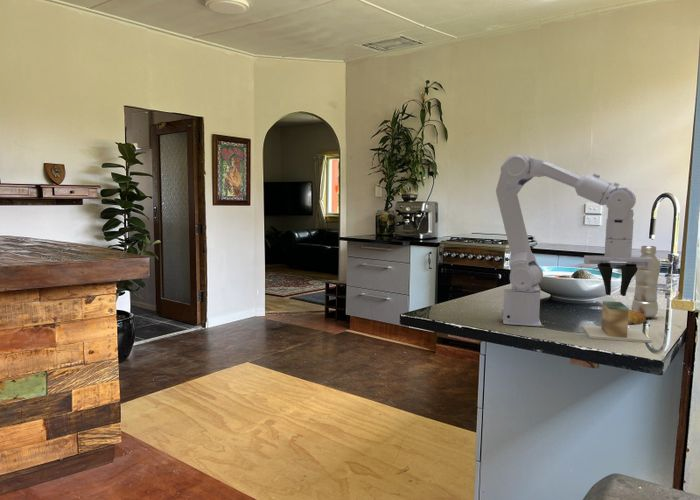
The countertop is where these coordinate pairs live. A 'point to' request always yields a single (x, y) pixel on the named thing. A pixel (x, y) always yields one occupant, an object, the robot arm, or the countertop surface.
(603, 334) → the mat
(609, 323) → the tan green block
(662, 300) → the countertop surface
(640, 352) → the countertop surface
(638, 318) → the pastry
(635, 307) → the plastic bottle
